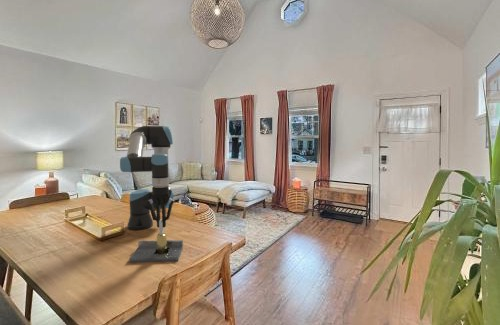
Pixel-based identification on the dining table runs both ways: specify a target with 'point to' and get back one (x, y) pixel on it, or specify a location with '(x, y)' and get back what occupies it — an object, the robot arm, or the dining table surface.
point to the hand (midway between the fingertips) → (161, 233)
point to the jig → (149, 252)
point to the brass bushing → (161, 244)
